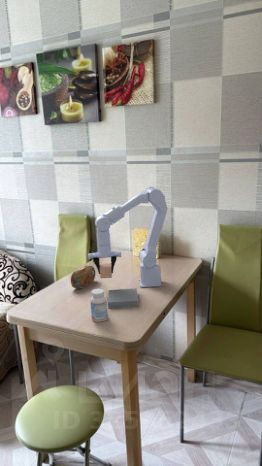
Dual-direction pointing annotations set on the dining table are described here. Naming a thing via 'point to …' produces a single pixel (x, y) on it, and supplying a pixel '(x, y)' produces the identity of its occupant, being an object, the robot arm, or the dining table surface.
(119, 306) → the gray block
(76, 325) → the dining table surface
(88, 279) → the tin
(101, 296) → the pill bottle
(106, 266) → the terracotta cube
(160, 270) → the robot arm
